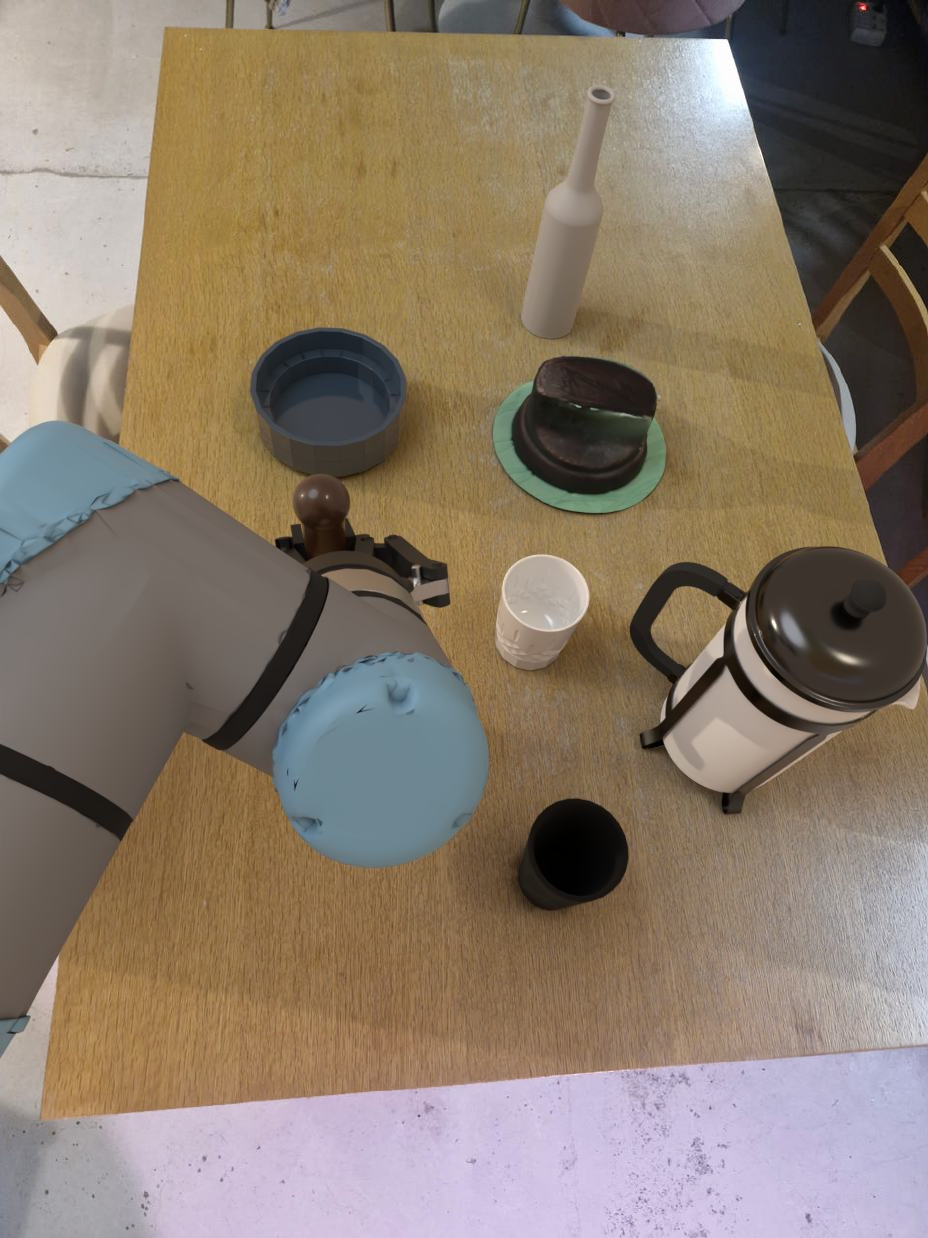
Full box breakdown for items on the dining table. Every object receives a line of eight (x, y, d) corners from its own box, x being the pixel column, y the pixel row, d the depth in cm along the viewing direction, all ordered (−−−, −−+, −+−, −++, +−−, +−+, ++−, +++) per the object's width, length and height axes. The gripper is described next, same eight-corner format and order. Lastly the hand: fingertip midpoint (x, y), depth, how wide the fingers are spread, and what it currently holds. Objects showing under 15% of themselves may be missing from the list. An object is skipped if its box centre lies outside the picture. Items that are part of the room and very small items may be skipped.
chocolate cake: (658, 369, 102) (692, 511, 93) (513, 418, 108) (532, 555, 99) (630, 282, 89) (665, 437, 81) (467, 343, 95) (484, 493, 87)
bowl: (252, 479, 90) (245, 443, 85) (261, 364, 97) (255, 324, 92) (405, 482, 92) (407, 447, 87) (403, 368, 99) (405, 330, 94)
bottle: (578, 337, 104) (643, 114, 79) (526, 340, 103) (575, 114, 78) (567, 298, 107) (626, 71, 82) (516, 300, 106) (560, 70, 81)
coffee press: (772, 661, 86) (950, 485, 60) (801, 818, 79) (1019, 698, 52) (605, 654, 85) (711, 472, 58) (619, 814, 77) (747, 689, 51)
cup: (532, 817, 77) (558, 779, 66) (606, 863, 75) (645, 831, 65) (489, 892, 73) (509, 865, 63) (567, 941, 72) (601, 922, 61)
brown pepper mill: (294, 652, 67) (270, 522, 50) (298, 589, 69) (276, 447, 53) (366, 652, 67) (365, 525, 51) (367, 590, 70) (366, 450, 53)
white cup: (531, 591, 87) (548, 539, 78) (583, 647, 85) (607, 599, 76) (472, 633, 84) (484, 584, 76) (524, 691, 82) (543, 648, 73)
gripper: (200, 733, 42) (222, 600, 64) (507, 682, 45) (428, 572, 67) (171, 589, 40) (204, 502, 62) (498, 546, 43) (419, 477, 65)
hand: (321, 538), depth 64 cm, fingers closed on brown pepper mill, 3 cm apart
